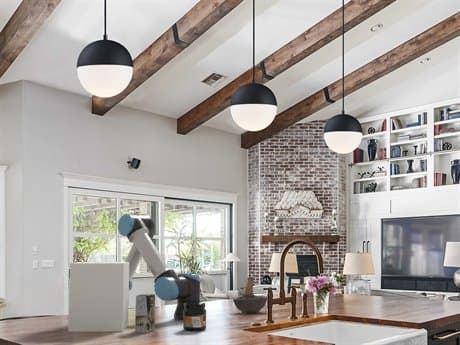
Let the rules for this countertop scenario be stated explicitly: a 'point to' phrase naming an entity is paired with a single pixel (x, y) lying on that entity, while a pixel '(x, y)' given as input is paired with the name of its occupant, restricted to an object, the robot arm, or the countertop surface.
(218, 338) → the countertop surface
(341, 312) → the countertop surface
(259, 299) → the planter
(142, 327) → the coffee box
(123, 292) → the shelf unit
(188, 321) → the supplement container
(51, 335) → the countertop surface
